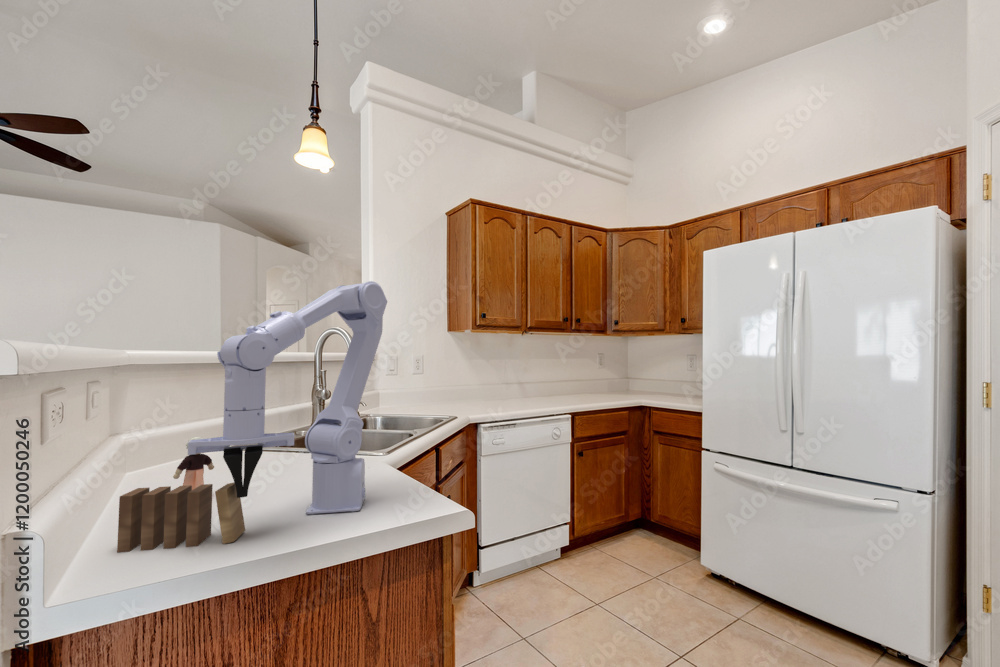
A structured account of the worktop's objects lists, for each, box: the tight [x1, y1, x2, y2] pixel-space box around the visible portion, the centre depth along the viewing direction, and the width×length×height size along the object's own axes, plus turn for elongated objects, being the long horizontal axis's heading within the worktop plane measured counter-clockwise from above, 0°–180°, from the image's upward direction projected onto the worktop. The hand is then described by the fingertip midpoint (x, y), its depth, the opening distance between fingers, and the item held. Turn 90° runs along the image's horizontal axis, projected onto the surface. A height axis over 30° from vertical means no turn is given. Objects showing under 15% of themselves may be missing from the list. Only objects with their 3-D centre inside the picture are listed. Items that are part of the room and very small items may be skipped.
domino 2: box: [140, 485, 172, 552], centre depth 68 cm, size 2×4×8 cm, turn 11°
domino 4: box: [185, 483, 213, 548], centre depth 69 cm, size 2×4×8 cm, turn 10°
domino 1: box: [116, 487, 150, 553], centre depth 67 cm, size 2×4×8 cm, turn 11°
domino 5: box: [214, 482, 246, 545], centre depth 70 cm, size 2×4×8 cm, turn 11°
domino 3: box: [162, 485, 192, 550], centre depth 68 cm, size 2×4×8 cm, turn 11°
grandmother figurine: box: [172, 436, 215, 490], centre depth 89 cm, size 8×4×13 cm, turn 169°
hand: (242, 495), depth 70 cm, fingers closed
